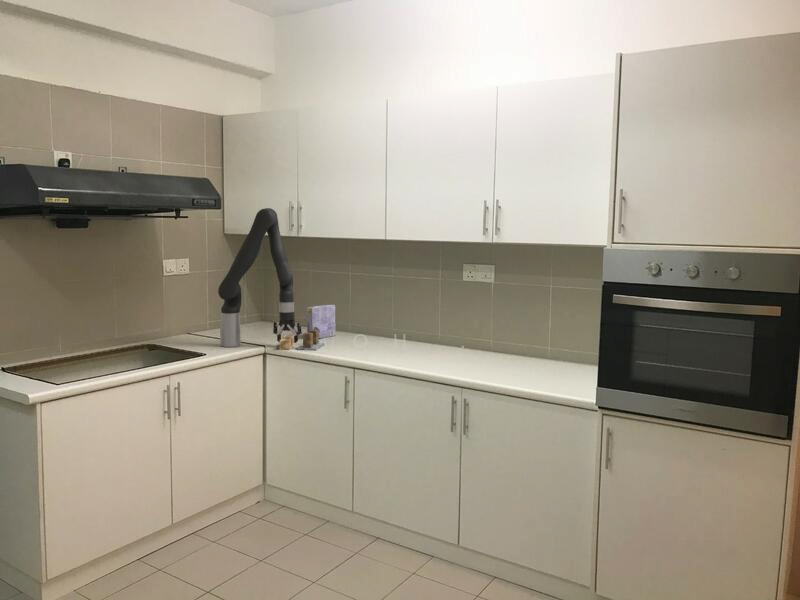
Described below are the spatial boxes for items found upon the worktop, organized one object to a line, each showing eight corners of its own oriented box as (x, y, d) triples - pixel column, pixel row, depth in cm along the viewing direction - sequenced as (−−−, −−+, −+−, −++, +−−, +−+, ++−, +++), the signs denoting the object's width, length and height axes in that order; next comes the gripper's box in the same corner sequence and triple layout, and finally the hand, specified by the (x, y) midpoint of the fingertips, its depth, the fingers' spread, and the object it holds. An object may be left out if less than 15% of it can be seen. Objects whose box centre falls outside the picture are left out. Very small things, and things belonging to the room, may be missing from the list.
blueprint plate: (296, 349, 323) (296, 347, 323) (306, 344, 337) (306, 342, 337) (316, 350, 321) (316, 348, 321) (324, 345, 335) (324, 343, 335)
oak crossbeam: (279, 350, 322) (279, 340, 321) (284, 344, 337) (284, 335, 336) (289, 350, 322) (289, 340, 321) (294, 344, 337) (294, 335, 336)
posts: (303, 347, 323) (302, 333, 322) (311, 342, 336) (311, 329, 335) (310, 348, 322) (310, 334, 321) (318, 343, 335) (318, 329, 334)
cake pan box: (331, 334, 366) (331, 303, 364) (337, 335, 363) (337, 304, 361) (306, 339, 351) (305, 307, 349) (312, 340, 348) (312, 307, 346)
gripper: (270, 311, 324) (271, 343, 326) (297, 312, 322) (298, 344, 324) (276, 309, 332) (277, 340, 334) (302, 310, 329) (303, 341, 331)
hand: (287, 342), depth 329 cm, fingers open, 8 cm apart
